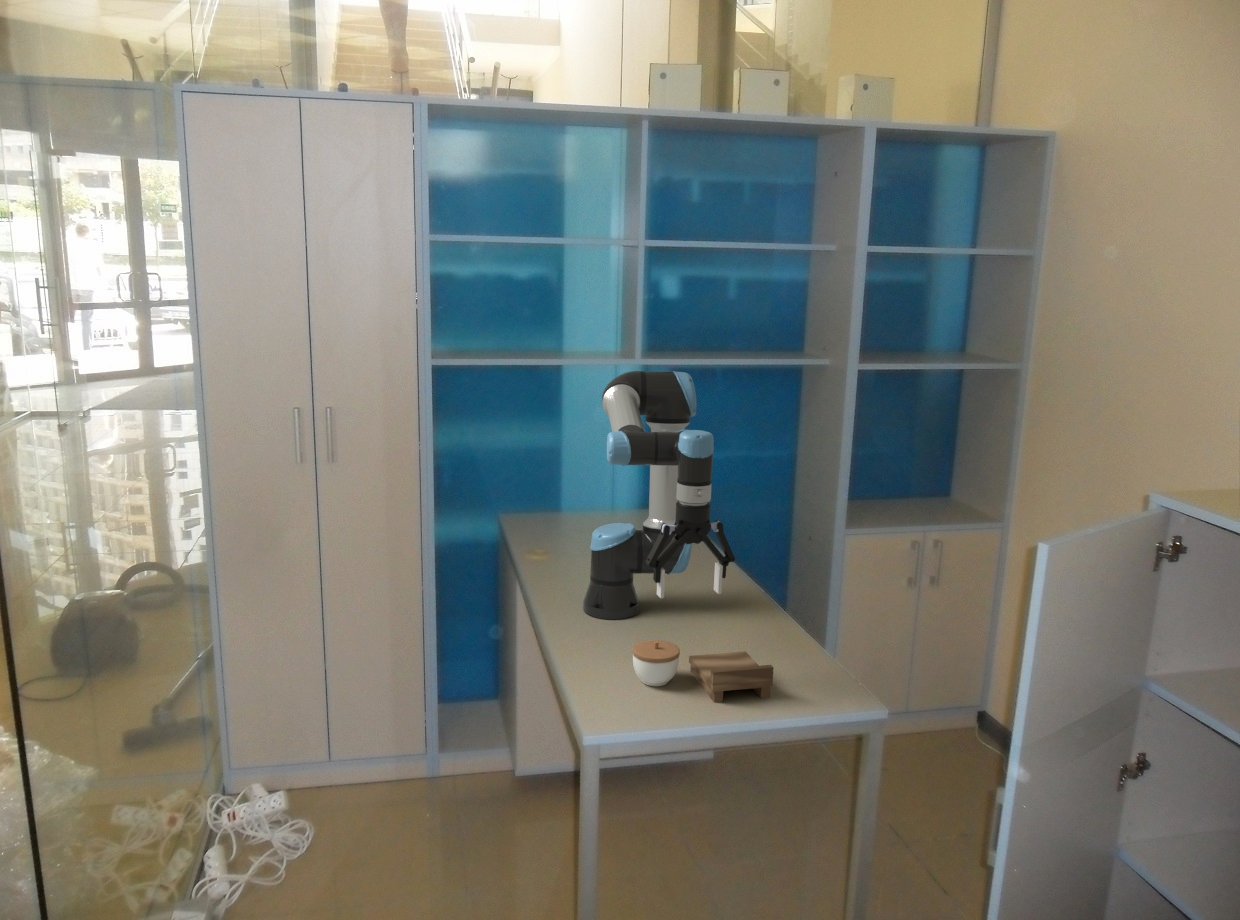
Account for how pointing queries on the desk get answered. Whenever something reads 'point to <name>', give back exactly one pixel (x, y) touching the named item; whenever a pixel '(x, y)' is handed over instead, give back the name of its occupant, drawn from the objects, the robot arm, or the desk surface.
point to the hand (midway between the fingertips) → (689, 594)
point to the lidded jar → (655, 661)
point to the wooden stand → (730, 674)
